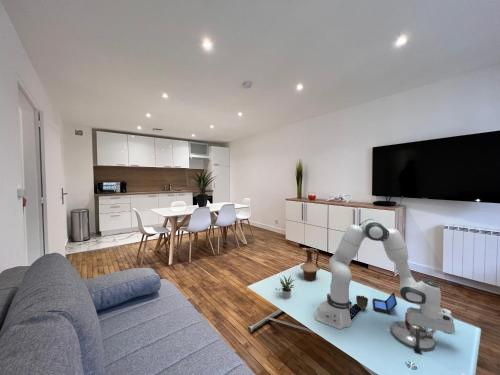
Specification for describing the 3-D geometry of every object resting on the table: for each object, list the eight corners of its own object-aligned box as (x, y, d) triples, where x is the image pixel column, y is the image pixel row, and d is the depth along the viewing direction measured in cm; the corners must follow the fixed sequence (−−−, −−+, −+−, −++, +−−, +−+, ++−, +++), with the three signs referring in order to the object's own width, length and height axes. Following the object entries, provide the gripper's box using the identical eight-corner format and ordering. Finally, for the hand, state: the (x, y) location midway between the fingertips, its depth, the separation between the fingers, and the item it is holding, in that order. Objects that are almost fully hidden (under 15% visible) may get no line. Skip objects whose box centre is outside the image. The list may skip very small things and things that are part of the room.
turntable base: (394, 344, 115) (394, 343, 115) (387, 321, 133) (387, 320, 133) (441, 356, 107) (441, 355, 107) (427, 330, 125) (427, 329, 125)
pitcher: (321, 276, 196) (320, 246, 195) (319, 284, 181) (319, 252, 179) (302, 273, 203) (301, 244, 202) (298, 281, 188) (298, 250, 187)
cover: (412, 336, 117) (412, 327, 117) (408, 328, 123) (408, 320, 123) (428, 340, 114) (427, 331, 114) (423, 331, 120) (423, 322, 120)
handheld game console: (372, 299, 157) (372, 287, 157) (393, 304, 151) (394, 291, 151) (373, 311, 144) (373, 298, 143) (397, 317, 137) (397, 303, 137)
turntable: (394, 342, 115) (394, 328, 115) (388, 320, 133) (388, 308, 132) (440, 354, 107) (441, 339, 106) (427, 328, 125) (427, 316, 124)
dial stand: (414, 352, 109) (414, 330, 109) (410, 342, 116) (410, 321, 116) (422, 355, 108) (422, 332, 107) (417, 344, 115) (418, 323, 114)
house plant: (296, 292, 169) (296, 272, 168) (298, 302, 155) (298, 281, 155) (278, 291, 170) (278, 272, 170) (279, 301, 157) (279, 280, 156)
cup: (357, 304, 151) (357, 293, 151) (368, 308, 147) (369, 297, 146) (354, 309, 146) (354, 298, 145) (366, 313, 141) (366, 302, 141)
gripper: (408, 309, 117) (408, 333, 118) (456, 319, 109) (456, 345, 109) (405, 303, 123) (405, 326, 123) (451, 312, 114) (450, 336, 115)
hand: (429, 335), depth 116 cm, fingers closed
